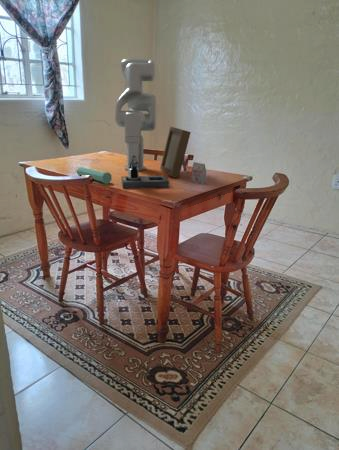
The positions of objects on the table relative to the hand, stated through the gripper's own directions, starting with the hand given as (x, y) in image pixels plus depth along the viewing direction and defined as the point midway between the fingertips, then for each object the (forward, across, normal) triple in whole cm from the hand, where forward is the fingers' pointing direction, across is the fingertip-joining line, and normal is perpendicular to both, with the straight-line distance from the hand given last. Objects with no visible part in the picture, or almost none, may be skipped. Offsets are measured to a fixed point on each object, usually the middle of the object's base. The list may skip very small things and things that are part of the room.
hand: (133, 175), depth 171 cm
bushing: (+5, 0, 0) cm, 5 cm away
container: (+2, -16, -18) cm, 24 cm away
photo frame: (+5, -26, +28) cm, 38 cm away
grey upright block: (+5, -3, +34) cm, 34 cm away
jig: (+5, 0, +6) cm, 7 cm away
